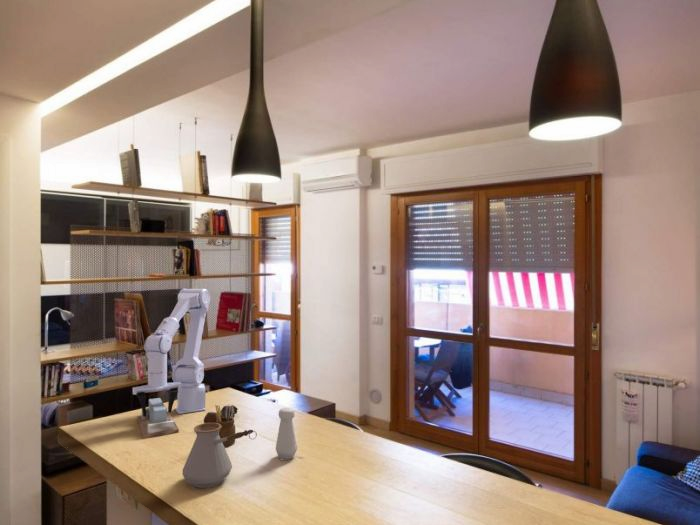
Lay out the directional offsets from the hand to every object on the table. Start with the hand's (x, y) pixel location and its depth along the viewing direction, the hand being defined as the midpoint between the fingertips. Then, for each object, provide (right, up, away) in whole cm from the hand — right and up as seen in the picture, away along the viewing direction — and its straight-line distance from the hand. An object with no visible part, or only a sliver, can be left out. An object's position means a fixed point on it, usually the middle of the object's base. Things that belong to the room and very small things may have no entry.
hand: (157, 413), depth 149 cm
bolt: (+20, -5, +4) cm, 21 cm away
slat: (0, -3, 0) cm, 3 cm away
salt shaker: (+46, -4, -25) cm, 52 cm away
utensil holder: (+26, -4, -15) cm, 31 cm away
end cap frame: (0, -4, 0) cm, 4 cm away
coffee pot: (+33, -4, -42) cm, 53 cm away
